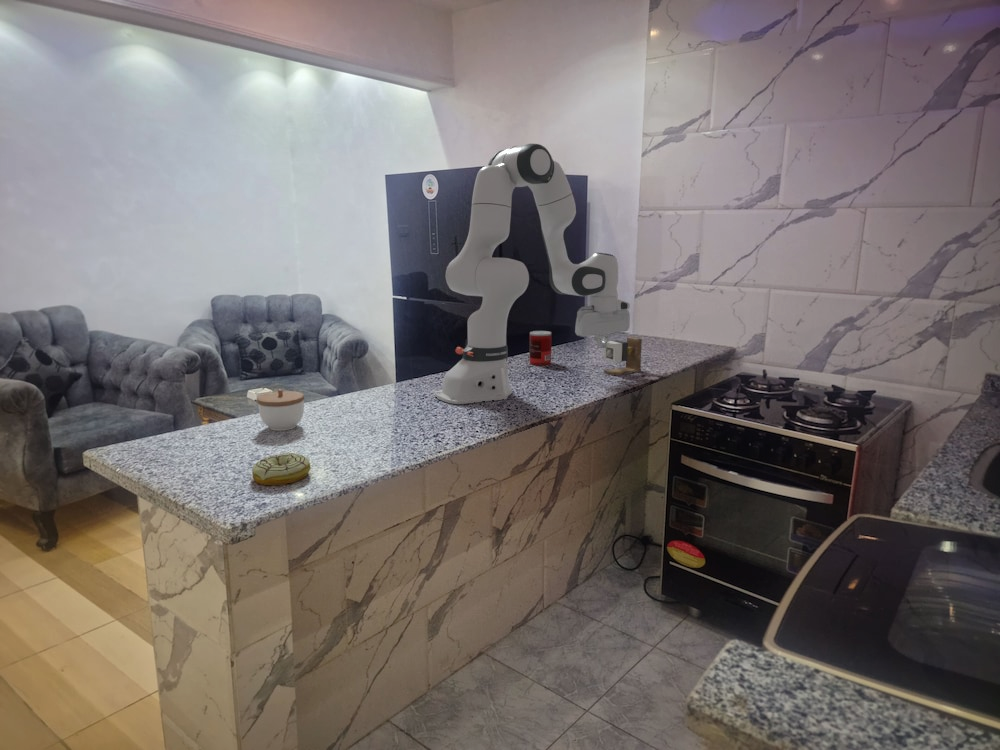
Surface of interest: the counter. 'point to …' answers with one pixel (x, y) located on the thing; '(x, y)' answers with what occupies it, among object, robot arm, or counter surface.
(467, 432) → the counter surface
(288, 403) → the lidded jar
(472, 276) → the robot arm
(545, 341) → the canned food
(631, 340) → the pipe stand
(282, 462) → the decorated donut
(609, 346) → the sleeve
